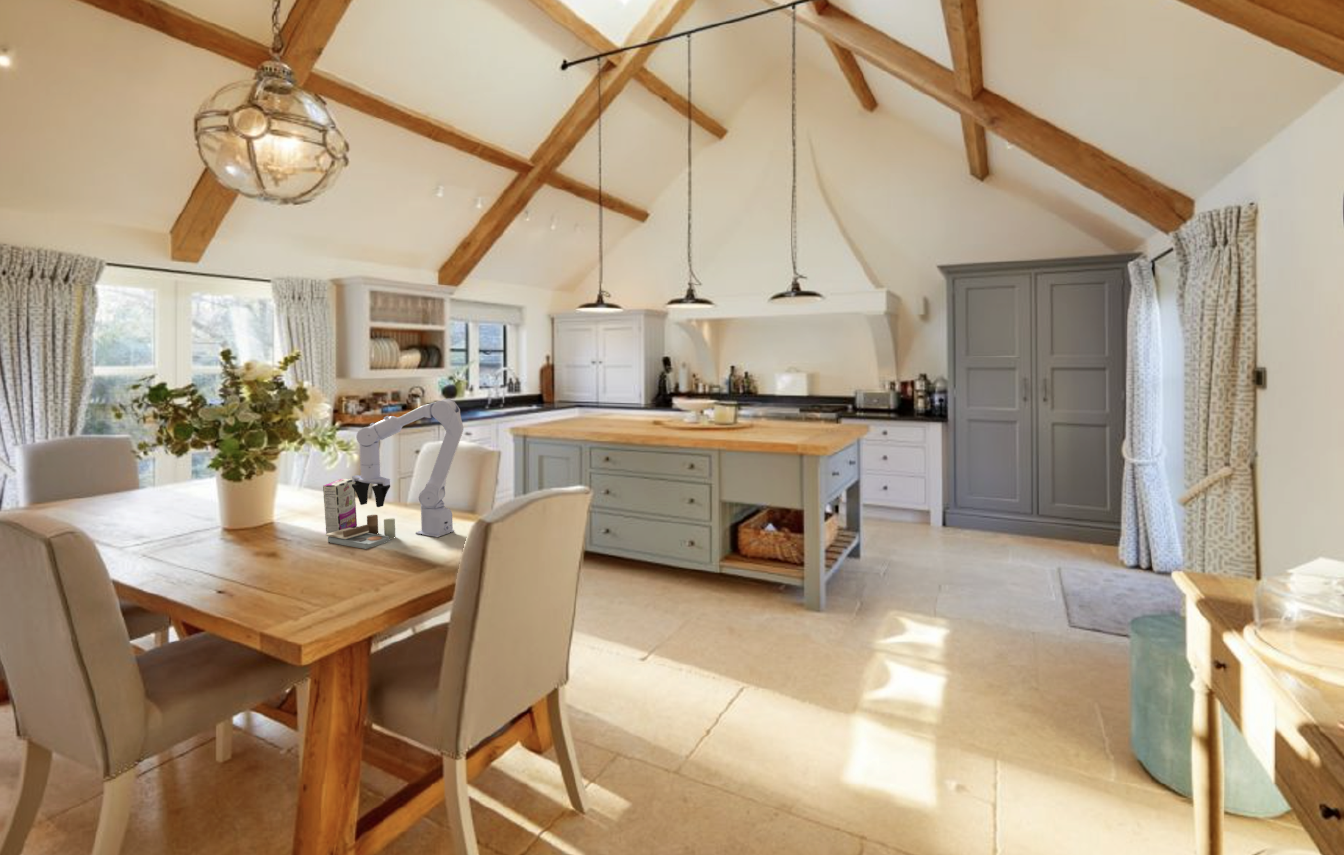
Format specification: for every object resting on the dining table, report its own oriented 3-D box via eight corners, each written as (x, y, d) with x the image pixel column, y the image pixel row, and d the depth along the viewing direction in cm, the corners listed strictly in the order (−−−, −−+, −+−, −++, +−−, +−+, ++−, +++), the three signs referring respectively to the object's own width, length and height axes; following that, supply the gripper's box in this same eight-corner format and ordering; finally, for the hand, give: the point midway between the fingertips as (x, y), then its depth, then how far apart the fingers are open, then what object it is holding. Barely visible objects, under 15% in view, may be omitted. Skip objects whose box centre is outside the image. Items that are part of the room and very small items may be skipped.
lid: (368, 532, 207) (368, 524, 207) (345, 539, 199) (345, 531, 199) (349, 529, 210) (349, 521, 210) (326, 535, 202) (325, 528, 202)
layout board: (389, 541, 204) (389, 536, 204) (365, 548, 196) (365, 543, 196) (352, 535, 210) (352, 530, 210) (328, 542, 202) (327, 537, 202)
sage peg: (397, 537, 209) (397, 518, 208) (389, 539, 206) (389, 521, 205) (390, 535, 210) (389, 517, 209) (382, 538, 207) (381, 519, 206)
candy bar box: (342, 525, 221) (340, 478, 219) (357, 526, 221) (355, 478, 219) (324, 534, 210) (322, 484, 208) (340, 535, 210) (337, 485, 208)
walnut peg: (380, 533, 213) (379, 515, 212) (372, 535, 210) (371, 517, 209) (373, 531, 214) (372, 514, 214) (365, 534, 211) (364, 516, 211)
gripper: (343, 464, 209) (345, 505, 210) (376, 467, 203) (378, 510, 205) (361, 460, 215) (363, 501, 217) (394, 464, 210) (395, 505, 211)
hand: (371, 505), depth 211 cm, fingers open, 7 cm apart
